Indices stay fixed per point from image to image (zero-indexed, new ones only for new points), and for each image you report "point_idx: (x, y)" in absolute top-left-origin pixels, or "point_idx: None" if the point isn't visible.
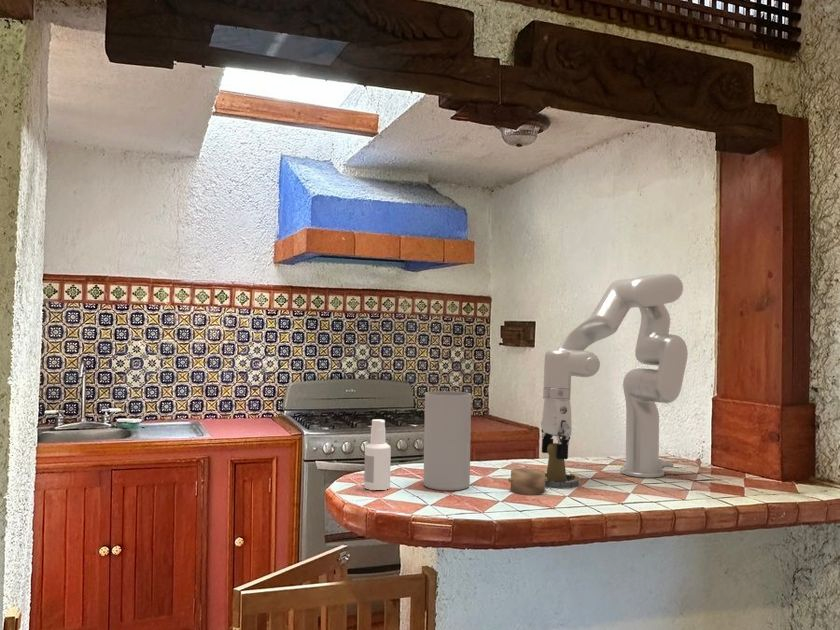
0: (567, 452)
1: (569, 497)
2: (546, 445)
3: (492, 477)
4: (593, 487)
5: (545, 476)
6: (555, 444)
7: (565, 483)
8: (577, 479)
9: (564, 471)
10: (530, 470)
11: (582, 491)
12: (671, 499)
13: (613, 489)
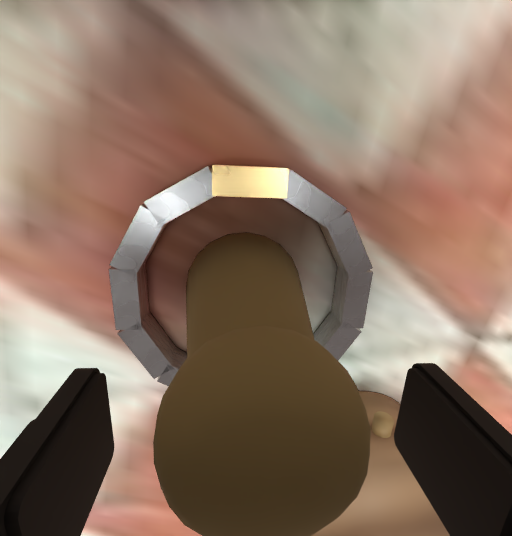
0: (471, 404)
1: (497, 341)
2: (79, 494)
3: None
4: (384, 129)
5: (145, 312)
6: (309, 520)
7: (365, 300)
8: (326, 203)
9: (298, 287)
10: (360, 512)
11: (436, 239)
12: None
13: (468, 24)
